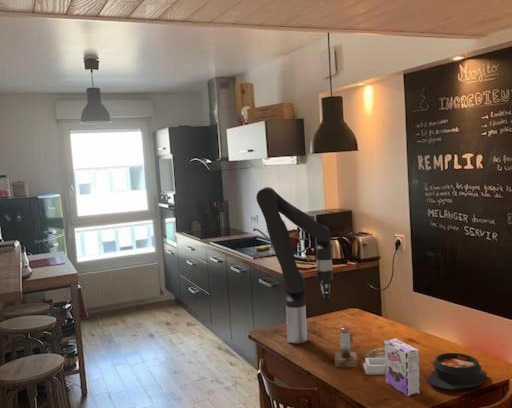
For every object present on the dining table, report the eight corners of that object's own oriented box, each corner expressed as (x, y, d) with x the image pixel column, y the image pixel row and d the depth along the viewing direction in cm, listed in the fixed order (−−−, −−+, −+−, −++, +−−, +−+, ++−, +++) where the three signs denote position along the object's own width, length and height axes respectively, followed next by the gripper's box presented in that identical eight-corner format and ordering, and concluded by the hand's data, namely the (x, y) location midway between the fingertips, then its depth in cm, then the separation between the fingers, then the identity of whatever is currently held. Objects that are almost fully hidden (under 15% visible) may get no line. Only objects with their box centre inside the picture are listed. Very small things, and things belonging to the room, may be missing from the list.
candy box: (384, 382, 198) (383, 340, 197) (397, 379, 200) (396, 337, 199) (407, 396, 185) (405, 352, 184) (420, 393, 187) (419, 349, 186)
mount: (335, 367, 214) (335, 360, 214) (334, 358, 223) (334, 352, 223) (357, 366, 213) (357, 359, 213) (355, 358, 222) (355, 351, 222)
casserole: (456, 365, 210) (456, 345, 209) (499, 380, 194) (499, 358, 193) (414, 382, 196) (414, 360, 196) (457, 400, 181) (456, 376, 180)
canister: (341, 357, 216) (339, 329, 215) (340, 354, 220) (339, 326, 219) (350, 357, 216) (349, 329, 215) (350, 354, 220) (348, 326, 219)
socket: (365, 374, 206) (365, 366, 205) (363, 364, 216) (363, 357, 215) (391, 374, 205) (391, 366, 204) (387, 364, 215) (387, 356, 214)
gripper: (315, 266, 251) (316, 299, 251) (317, 271, 236) (319, 307, 237) (331, 266, 250) (332, 299, 251) (334, 271, 236) (335, 306, 237)
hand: (325, 303), depth 244 cm, fingers open, 8 cm apart
